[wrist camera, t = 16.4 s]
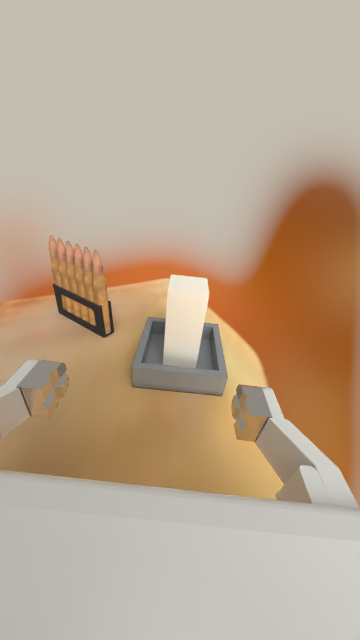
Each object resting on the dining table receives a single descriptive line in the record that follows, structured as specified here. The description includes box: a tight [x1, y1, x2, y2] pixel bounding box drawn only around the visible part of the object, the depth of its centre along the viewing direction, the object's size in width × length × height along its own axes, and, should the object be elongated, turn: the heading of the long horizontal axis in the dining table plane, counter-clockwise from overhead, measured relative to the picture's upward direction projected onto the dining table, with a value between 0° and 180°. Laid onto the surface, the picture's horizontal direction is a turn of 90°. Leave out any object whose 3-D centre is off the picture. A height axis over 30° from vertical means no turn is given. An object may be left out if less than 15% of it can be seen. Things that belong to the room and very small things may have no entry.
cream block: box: [163, 275, 209, 368], centre depth 25 cm, size 4×4×10 cm
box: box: [132, 317, 228, 396], centre depth 28 cm, size 10×10×3 cm
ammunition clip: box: [49, 236, 114, 338], centre depth 31 cm, size 11×2×12 cm, turn 57°
